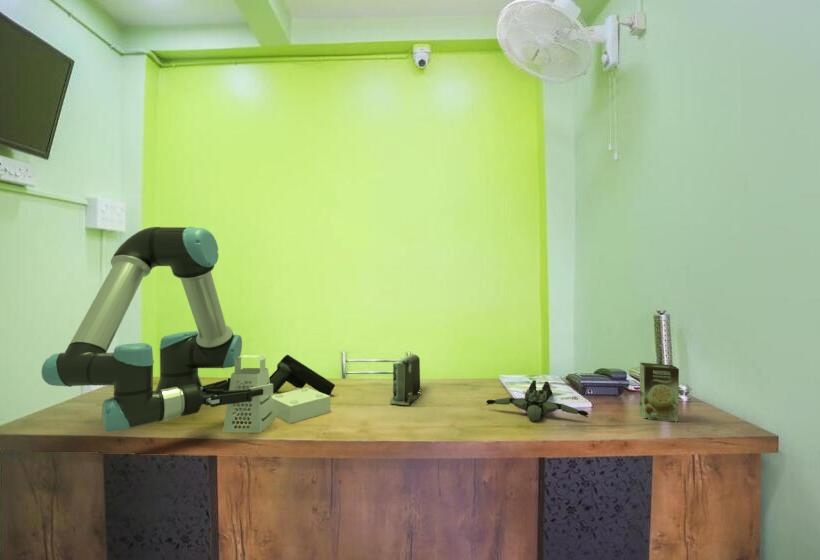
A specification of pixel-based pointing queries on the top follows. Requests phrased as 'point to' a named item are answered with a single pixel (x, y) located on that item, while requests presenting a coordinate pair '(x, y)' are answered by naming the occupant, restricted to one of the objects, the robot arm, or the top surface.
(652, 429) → the top surface
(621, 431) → the top surface
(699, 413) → the top surface
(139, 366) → the robot arm
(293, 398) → the pedestal
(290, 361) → the handgun
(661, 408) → the coffee box
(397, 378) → the radio
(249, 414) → the grater
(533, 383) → the toy
